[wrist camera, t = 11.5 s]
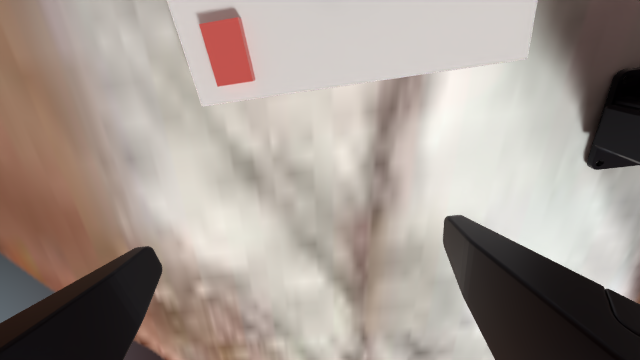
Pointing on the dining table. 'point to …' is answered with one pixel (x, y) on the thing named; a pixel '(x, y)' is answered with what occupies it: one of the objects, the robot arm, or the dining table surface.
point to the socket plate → (340, 41)
